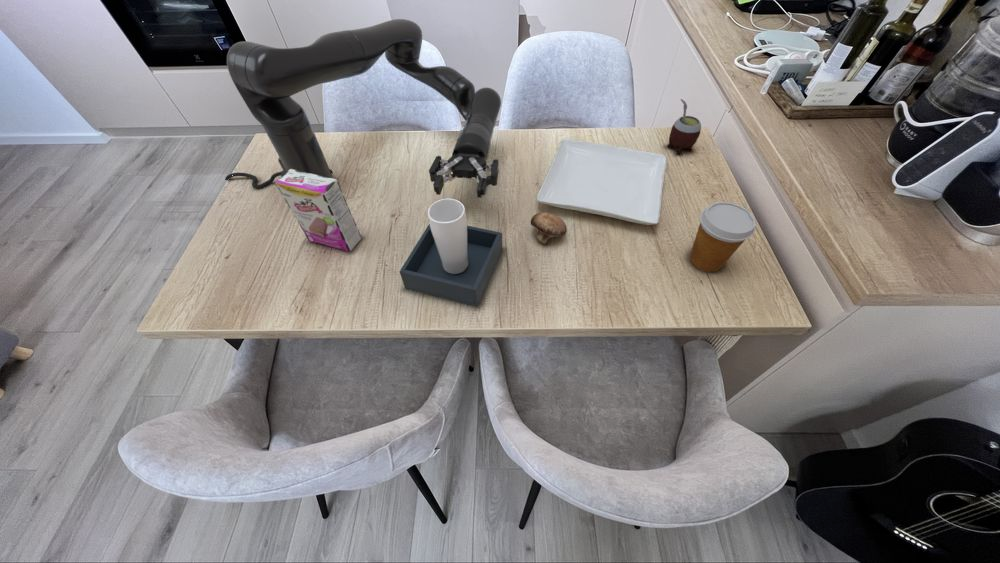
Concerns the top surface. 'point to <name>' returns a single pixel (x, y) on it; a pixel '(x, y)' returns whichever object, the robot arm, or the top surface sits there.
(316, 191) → the candy bar box
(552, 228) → the mushroom
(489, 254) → the tub
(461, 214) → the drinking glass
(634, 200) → the square plate
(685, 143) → the mate gourd
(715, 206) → the disposable coffee cup
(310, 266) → the top surface
